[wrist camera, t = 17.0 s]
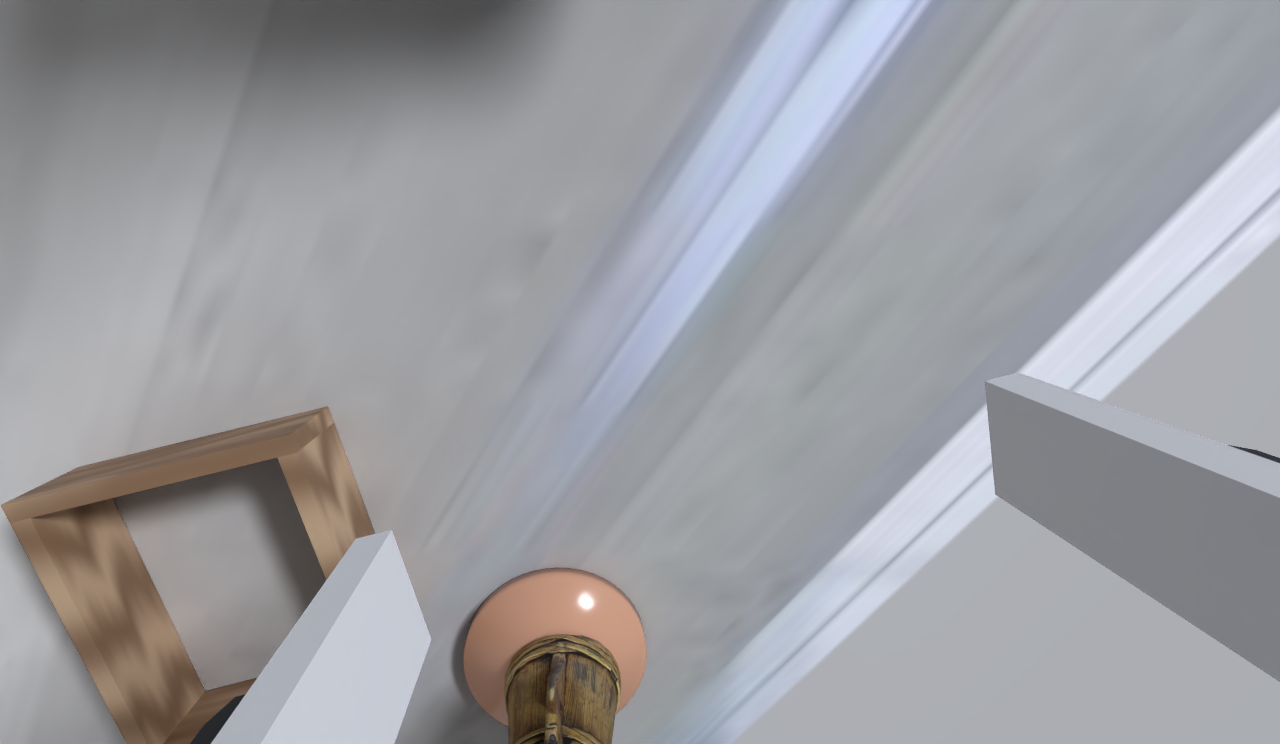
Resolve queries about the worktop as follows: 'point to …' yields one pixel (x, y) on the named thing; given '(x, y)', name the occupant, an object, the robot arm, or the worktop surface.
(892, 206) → the worktop surface
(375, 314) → the worktop surface
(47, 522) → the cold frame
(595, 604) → the peach round disc
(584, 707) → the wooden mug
